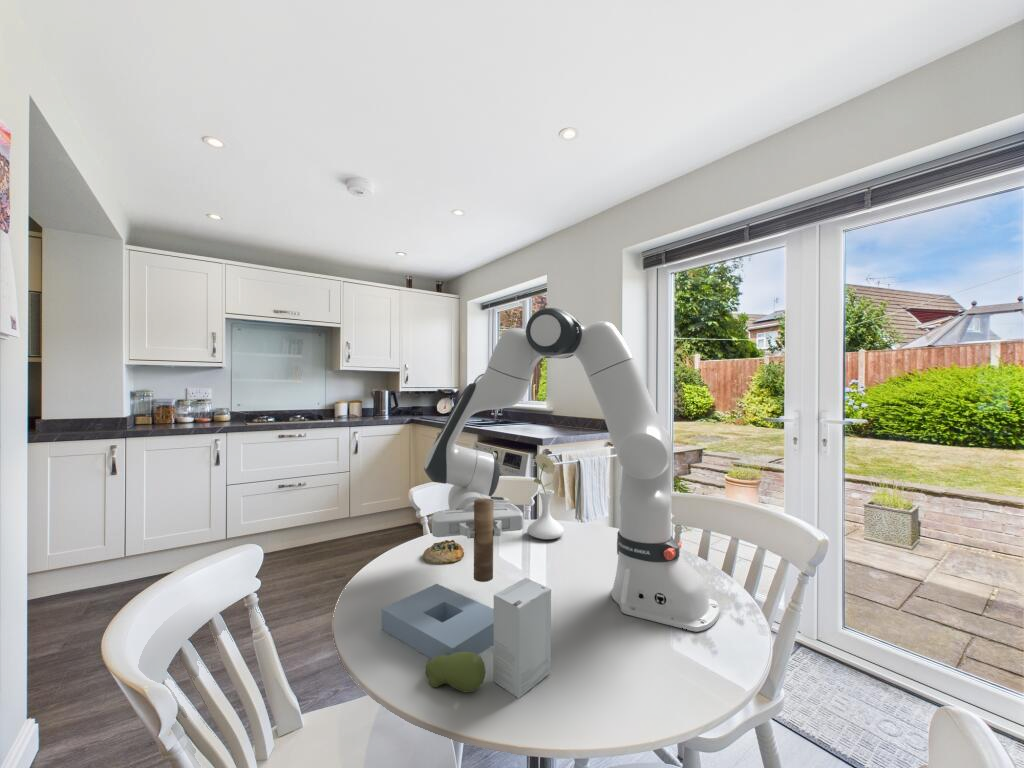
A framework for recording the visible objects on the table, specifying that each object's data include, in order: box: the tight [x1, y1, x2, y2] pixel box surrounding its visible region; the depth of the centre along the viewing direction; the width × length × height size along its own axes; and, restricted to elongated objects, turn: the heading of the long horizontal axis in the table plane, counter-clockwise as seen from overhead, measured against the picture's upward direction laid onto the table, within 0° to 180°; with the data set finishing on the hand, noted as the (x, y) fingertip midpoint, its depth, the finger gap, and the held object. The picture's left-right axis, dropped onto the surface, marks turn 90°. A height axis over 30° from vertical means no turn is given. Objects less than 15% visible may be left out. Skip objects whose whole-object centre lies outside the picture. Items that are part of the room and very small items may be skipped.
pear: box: [425, 651, 487, 693], centre depth 74 cm, size 6×5×10 cm
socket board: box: [381, 583, 494, 660], centre depth 89 cm, size 20×14×4 cm
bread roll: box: [422, 539, 465, 565], centre depth 125 cm, size 11×11×5 cm
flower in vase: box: [526, 453, 565, 540], centre depth 142 cm, size 13×11×25 cm
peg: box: [473, 498, 494, 583], centre depth 95 cm, size 4×4×16 cm
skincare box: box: [492, 577, 552, 699], centre depth 75 cm, size 8×6×15 cm
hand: (484, 533), depth 94 cm, fingers closed on peg, 4 cm apart
